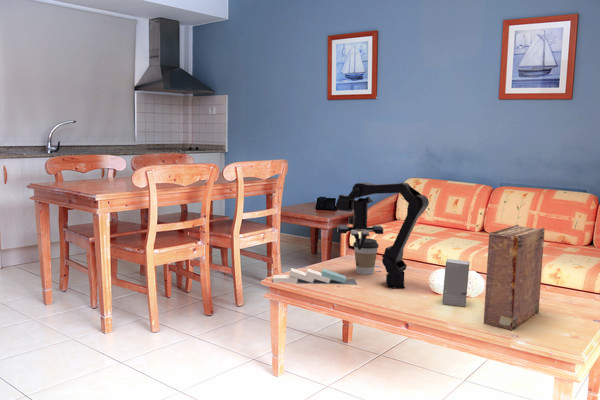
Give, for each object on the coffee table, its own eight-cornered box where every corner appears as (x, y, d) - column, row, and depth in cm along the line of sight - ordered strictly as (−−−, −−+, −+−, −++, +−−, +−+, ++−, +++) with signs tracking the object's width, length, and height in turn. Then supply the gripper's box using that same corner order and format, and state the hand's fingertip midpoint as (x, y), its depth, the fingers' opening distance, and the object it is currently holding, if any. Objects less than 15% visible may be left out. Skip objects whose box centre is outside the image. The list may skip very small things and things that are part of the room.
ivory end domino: (297, 274, 219) (273, 275, 219) (297, 277, 214) (272, 278, 214) (297, 279, 220) (273, 279, 220) (297, 282, 215) (273, 283, 215)
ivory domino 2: (329, 275, 219) (307, 268, 219) (330, 278, 214) (307, 271, 214) (328, 280, 220) (305, 272, 219) (328, 283, 215) (305, 275, 214)
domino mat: (355, 279, 222) (355, 279, 222) (357, 285, 214) (357, 284, 214) (295, 278, 222) (295, 277, 222) (295, 284, 214) (295, 283, 214)
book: (512, 306, 190) (517, 224, 186) (539, 312, 184) (545, 227, 180) (483, 323, 171) (488, 232, 168) (512, 331, 165) (518, 236, 161)
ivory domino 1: (313, 275, 219) (291, 267, 219) (314, 278, 214) (291, 270, 214) (312, 279, 220) (289, 272, 219) (312, 283, 215) (289, 275, 214)
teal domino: (345, 276, 219) (322, 268, 219) (346, 279, 214) (323, 271, 214) (343, 280, 220) (321, 272, 219) (344, 283, 215) (321, 275, 214)
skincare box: (442, 304, 190) (444, 261, 188) (443, 299, 197) (445, 257, 195) (466, 307, 187) (468, 264, 186) (467, 301, 194) (469, 259, 192)
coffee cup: (349, 270, 238) (350, 237, 236) (374, 270, 239) (375, 237, 238) (355, 276, 227) (356, 242, 225) (380, 276, 228) (382, 242, 226)
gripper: (380, 210, 227) (378, 246, 229) (336, 209, 227) (335, 245, 229) (384, 214, 216) (382, 251, 217) (338, 213, 216) (337, 250, 217)
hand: (359, 249), depth 221 cm, fingers closed
